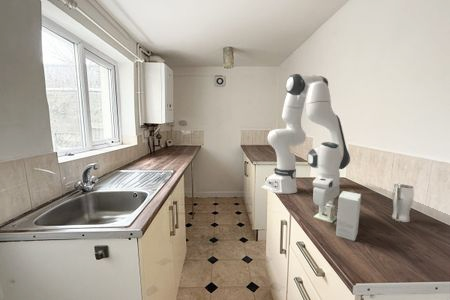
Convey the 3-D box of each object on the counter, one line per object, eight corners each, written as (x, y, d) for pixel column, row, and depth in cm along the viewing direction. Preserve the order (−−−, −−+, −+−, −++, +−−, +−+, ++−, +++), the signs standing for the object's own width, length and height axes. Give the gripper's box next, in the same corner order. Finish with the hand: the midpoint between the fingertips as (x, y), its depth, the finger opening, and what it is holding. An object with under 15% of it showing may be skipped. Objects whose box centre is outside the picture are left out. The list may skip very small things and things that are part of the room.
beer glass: (403, 223, 89) (406, 189, 87) (386, 216, 96) (389, 184, 94) (415, 221, 91) (418, 187, 89) (398, 215, 97) (401, 183, 96)
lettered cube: (318, 216, 96) (318, 205, 95) (322, 213, 99) (323, 202, 99) (329, 219, 92) (330, 208, 92) (334, 216, 96) (335, 205, 95)
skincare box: (340, 227, 86) (342, 190, 84) (359, 232, 82) (362, 193, 80) (335, 236, 80) (337, 196, 78) (355, 242, 76) (358, 199, 74)
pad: (313, 217, 96) (313, 216, 96) (320, 212, 101) (320, 211, 101) (332, 223, 90) (332, 222, 90) (338, 217, 96) (338, 216, 96)
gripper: (329, 174, 103) (328, 201, 105) (310, 182, 89) (309, 214, 91) (343, 176, 98) (342, 205, 100) (326, 185, 85) (324, 218, 86)
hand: (326, 209), depth 95 cm, fingers open, 6 cm apart
